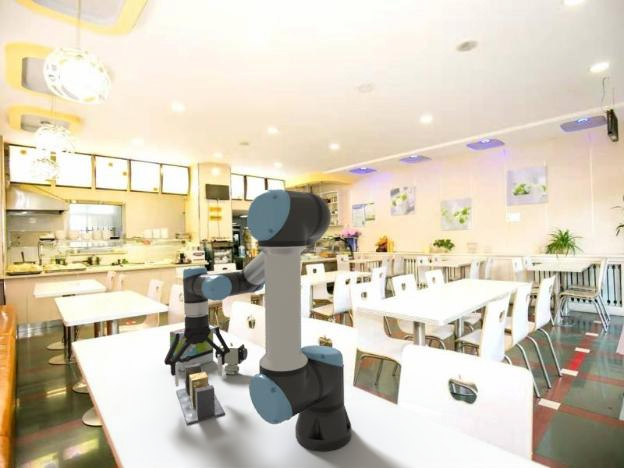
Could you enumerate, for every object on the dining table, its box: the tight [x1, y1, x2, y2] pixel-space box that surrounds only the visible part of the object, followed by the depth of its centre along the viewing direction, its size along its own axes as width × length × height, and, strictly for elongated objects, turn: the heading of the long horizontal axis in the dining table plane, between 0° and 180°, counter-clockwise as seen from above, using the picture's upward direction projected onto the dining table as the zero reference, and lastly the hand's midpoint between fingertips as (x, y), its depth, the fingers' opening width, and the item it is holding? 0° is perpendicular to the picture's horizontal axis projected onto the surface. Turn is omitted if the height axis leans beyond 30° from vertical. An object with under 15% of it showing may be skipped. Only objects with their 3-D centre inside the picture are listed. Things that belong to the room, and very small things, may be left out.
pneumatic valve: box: [214, 342, 248, 376], centre depth 136 cm, size 6×12×12 cm, turn 78°
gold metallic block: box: [189, 371, 209, 405], centre depth 112 cm, size 8×5×8 cm, turn 29°
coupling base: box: [175, 363, 226, 426], centre depth 112 cm, size 24×11×9 cm, turn 28°
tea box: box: [169, 326, 214, 372], centre depth 147 cm, size 15×10×15 cm, turn 143°
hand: (199, 380), depth 112 cm, fingers open, 13 cm apart
